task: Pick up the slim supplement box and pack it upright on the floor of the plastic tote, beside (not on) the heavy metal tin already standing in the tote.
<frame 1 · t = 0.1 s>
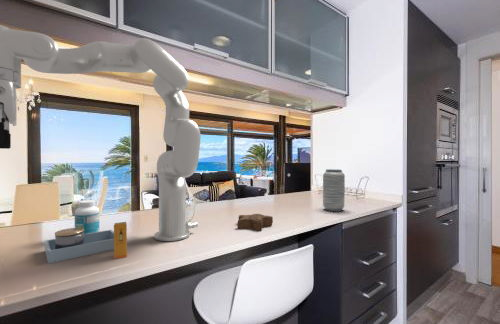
hand: (0, 147, 62), 31 cm above the counter, fingers open, 9 cm apart
pill bottle: (87, 239, 89), on the counter
decorative item: (252, 227, 108), on the counter
tote: (83, 251, 78), on the counter
vase: (333, 210, 143), on the counter
supplement box: (120, 258, 73), on the counter
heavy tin: (70, 252, 75), resting on tote
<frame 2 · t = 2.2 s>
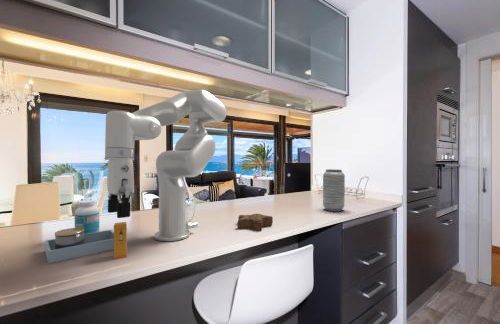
hand: (118, 214, 72), 13 cm above the counter, fingers open, 9 cm apart
nothing on the counter moved.
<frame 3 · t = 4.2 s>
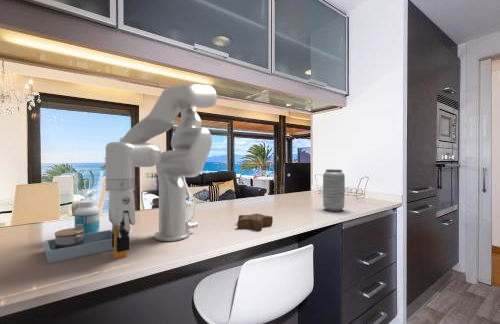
hand: (120, 247, 73), 3 cm above the counter, fingers closed on supplement box, 4 cm apart
supplement box: (120, 258, 73), on the counter, touching gripper
everything else where it was.
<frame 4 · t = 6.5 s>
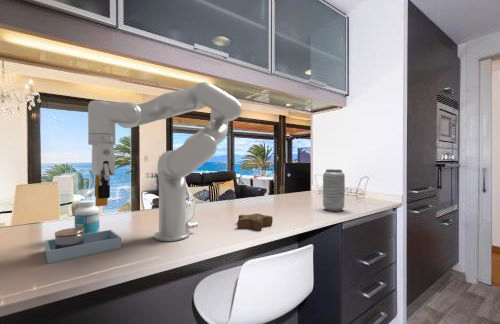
hand: (102, 196, 81), 16 cm above the counter, fingers closed on supplement box, 4 cm apart
supplement box: (101, 206, 81), point 13 cm above the counter, touching gripper
everything else where it was.
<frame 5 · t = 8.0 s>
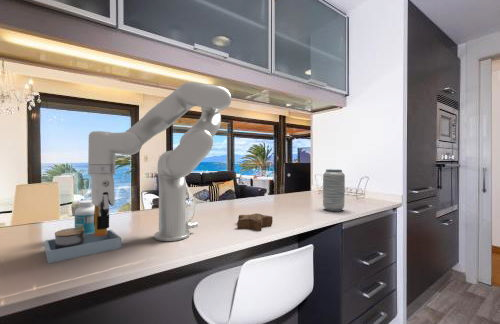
hand: (101, 226, 81), 7 cm above the counter, fingers closed on supplement box, 4 cm apart
supplement box: (100, 235, 81), point 4 cm above the counter, touching gripper
everything else where it was.
when the fingers open (5 cm above the counter, at t = 9.2 s): supplement box drops 1 cm, resting on tote.
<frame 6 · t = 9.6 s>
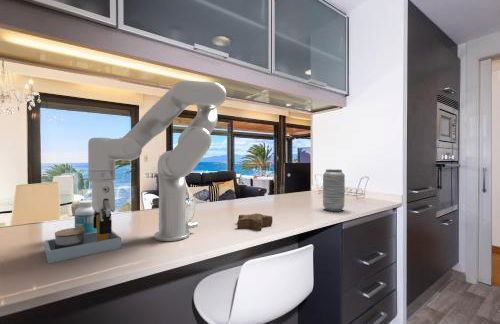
hand: (102, 230, 81), 6 cm above the counter, fingers open, 8 cm apart
supplement box: (102, 245, 81), resting on tote
everything else where it was.
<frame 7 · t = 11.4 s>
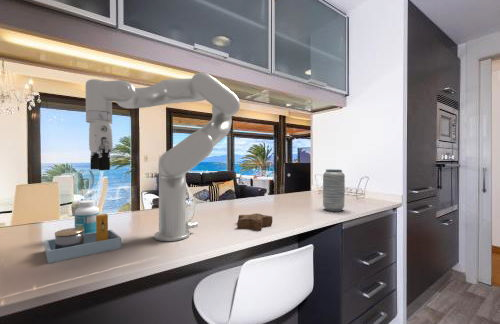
hand: (99, 169, 84), 25 cm above the counter, fingers open, 9 cm apart
nothing on the counter moved.
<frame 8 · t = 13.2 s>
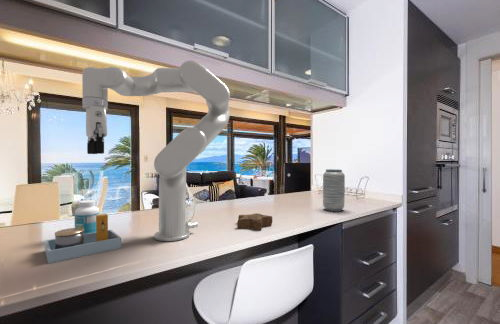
hand: (95, 153, 88), 30 cm above the counter, fingers open, 9 cm apart
nothing on the counter moved.
at the end: supplement box inside the target area (0.7 cm from its centre), resting on tote; supplement box tilted 0°; the gripper is holding nothing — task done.
